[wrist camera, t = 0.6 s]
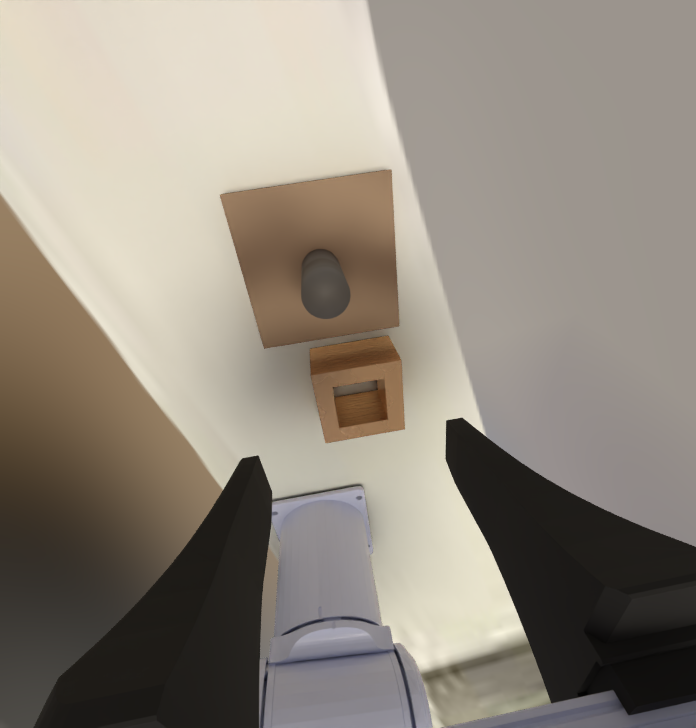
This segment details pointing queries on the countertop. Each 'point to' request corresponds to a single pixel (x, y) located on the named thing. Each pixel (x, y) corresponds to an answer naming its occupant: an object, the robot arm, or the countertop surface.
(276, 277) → the peg board
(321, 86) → the countertop surface
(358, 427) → the collar
